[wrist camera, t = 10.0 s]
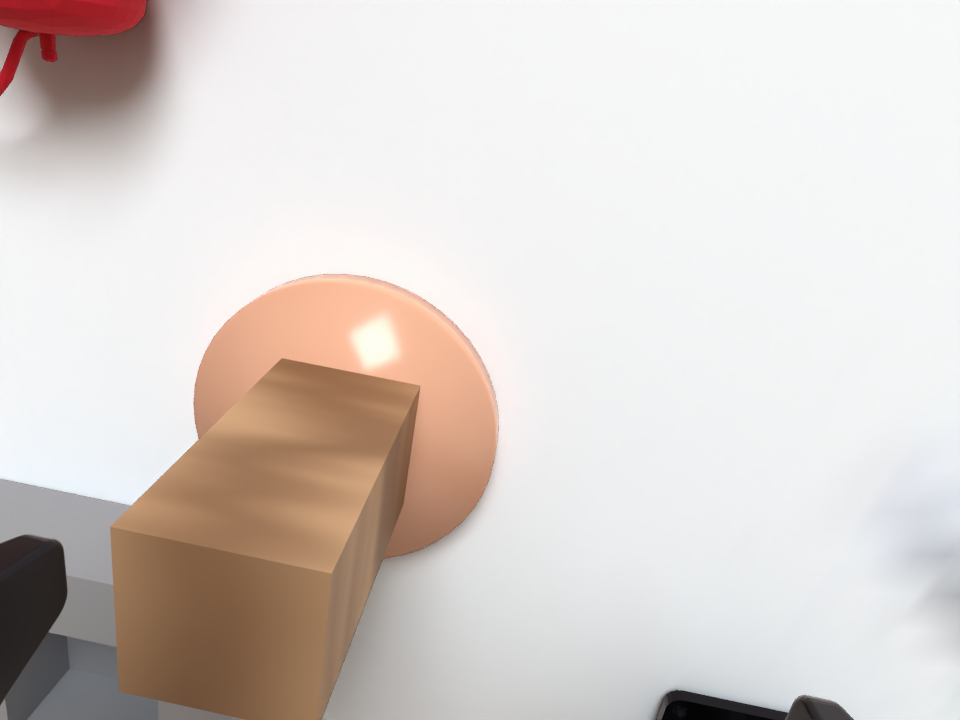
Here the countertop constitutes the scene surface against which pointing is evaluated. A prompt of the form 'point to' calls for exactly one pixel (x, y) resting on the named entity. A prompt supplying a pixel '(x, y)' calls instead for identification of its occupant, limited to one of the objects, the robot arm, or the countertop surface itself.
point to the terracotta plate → (381, 353)
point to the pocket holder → (77, 617)
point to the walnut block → (263, 545)
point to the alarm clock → (62, 24)
